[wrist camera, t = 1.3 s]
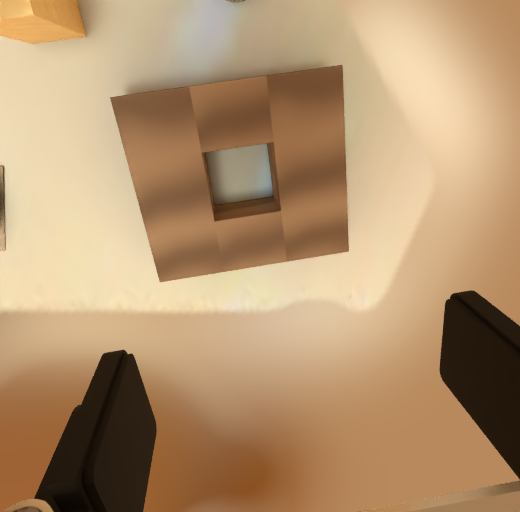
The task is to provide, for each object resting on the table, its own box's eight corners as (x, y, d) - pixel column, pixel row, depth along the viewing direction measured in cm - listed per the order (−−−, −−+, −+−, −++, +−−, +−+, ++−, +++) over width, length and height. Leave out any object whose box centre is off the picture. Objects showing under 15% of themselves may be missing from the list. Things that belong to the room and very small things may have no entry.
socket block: (124, 96, 33) (110, 97, 29) (325, 68, 34) (342, 64, 30) (166, 260, 40) (159, 282, 35) (333, 233, 41) (348, 251, 36)
